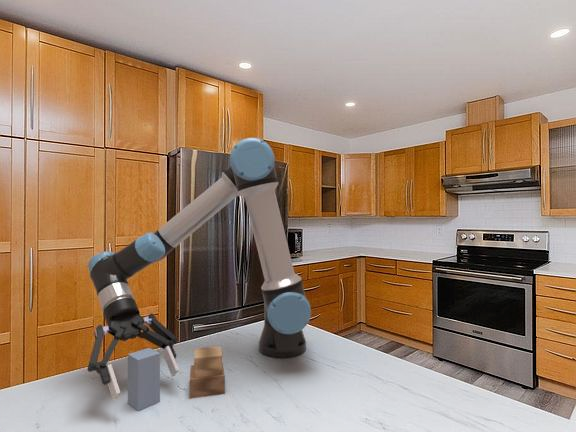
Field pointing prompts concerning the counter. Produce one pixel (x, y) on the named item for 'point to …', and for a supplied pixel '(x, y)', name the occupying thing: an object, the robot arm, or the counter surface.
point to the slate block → (143, 378)
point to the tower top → (207, 361)
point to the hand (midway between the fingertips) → (148, 384)
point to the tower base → (206, 384)
